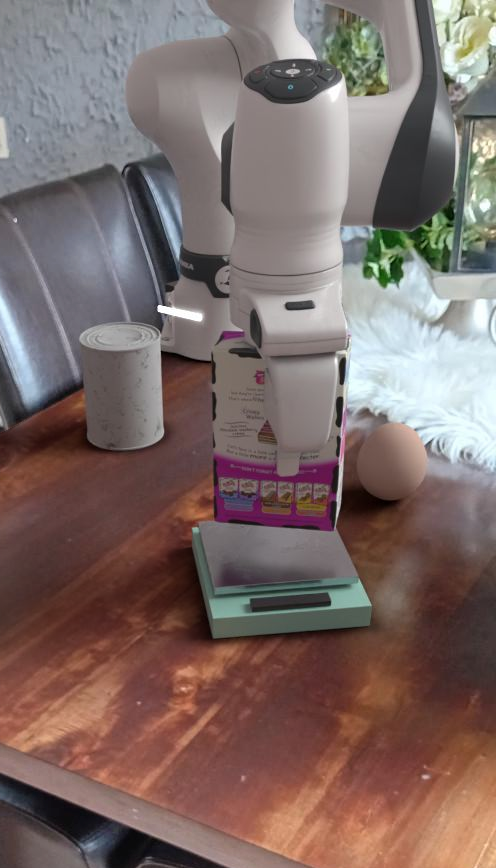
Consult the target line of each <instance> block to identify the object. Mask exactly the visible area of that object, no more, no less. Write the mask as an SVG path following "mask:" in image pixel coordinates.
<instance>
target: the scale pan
mask: <svg viewBox="0 0 496 868" xmlns="http://www.w3.org/2000/svg"><path fill="white" fill-rule="evenodd" d="M336 526H337V525H336ZM336 526H335V530H334V531H319V530H306V529H292V528H280V527H267V526H254V525H242V524H231V523H219V522H215V521H214V519H213V520H200V521H197V527H198V531H199V535H200V539H201V543H202V548H203V552H204V556H205V560H206V564H207V568H208V572H209V576H210V581H211V585H212V589H213V593H214V595H219V594H232V593H244V592H256V591H269V590H281V589H293V588H306V587H318V586H331V585H343V584H355V583H358V578H359V577H360V576H359V573H358V571H357V568H356V567H355V565H354V563H353V561H352V558H351V557H350V554H349V552H348V551H347V550H348V549H347V548H346V546H345V544H344V542H343V539H342V537H341V536H340V533H339V530H338V528H337V527H336ZM359 579H360V578H359Z"/></svg>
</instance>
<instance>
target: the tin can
mask: <svg viewBox="0 0 496 868" xmlns="http://www.w3.org/2000/svg"><path fill="white" fill-rule="evenodd" d="M160 337H161V331H160V330H159V329H158V328H157V327H155V326H154V325H150V324H147V323H144V322H143V323H142V322H135V321H115V322H108V323H107V322H106V323H102V324H98V325H95V326H92V327H90V328H87V329H85V330H83V332H81V333H80V334H79V337H78V342H79V346H80V357H81V358H80V359H81V369H82V370H81V371H82V381H83V382H82V383H83V392H84V393H83V394H84V405H85V417H86V418H85V419H86V429H87V432H86V437H87V440H88V441H89V443H91V444H92V445H93V446H95V447H97V448H99V449H103V450H107V451H109V450H110V451H119V452H120V451H123V452H125V451H135V450H141V449H144V448H148V447H150V446H152V445H155V444H156V443H157V442H159V441H160V440H161V439H162V438H163V437H164V434H165V428H164V411H163V410H164V409H163V408H164V407H163V383H162V382H163V380H162V355H161V354H162V353H161V349H160Z"/></svg>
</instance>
